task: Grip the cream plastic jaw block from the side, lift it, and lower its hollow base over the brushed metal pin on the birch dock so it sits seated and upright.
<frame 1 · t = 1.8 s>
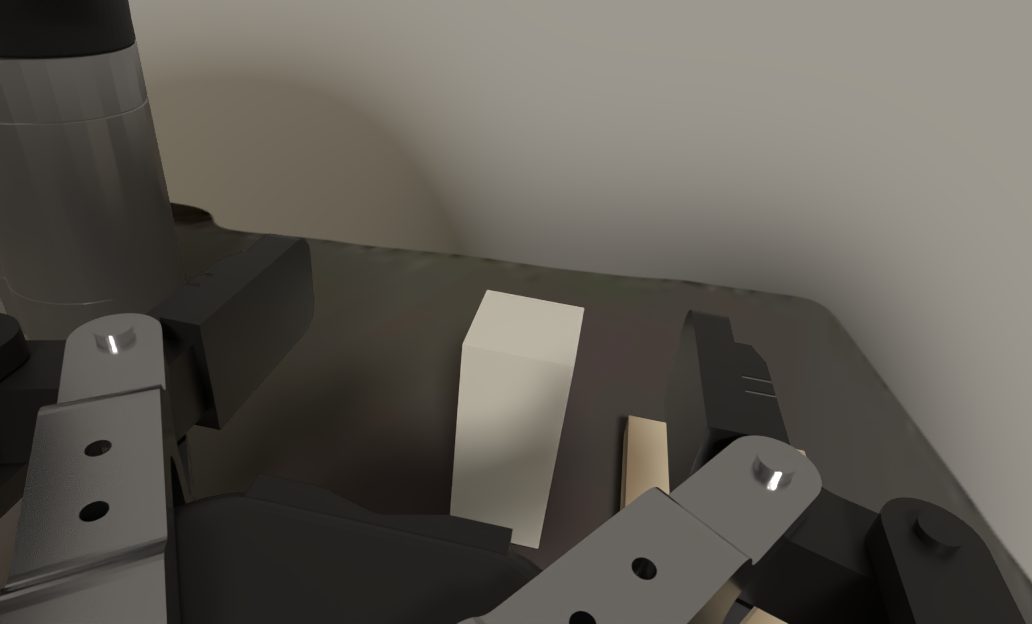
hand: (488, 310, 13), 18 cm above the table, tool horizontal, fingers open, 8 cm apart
pin dock: (719, 551, 30), on the table
jaw block: (502, 503, 32), on the table
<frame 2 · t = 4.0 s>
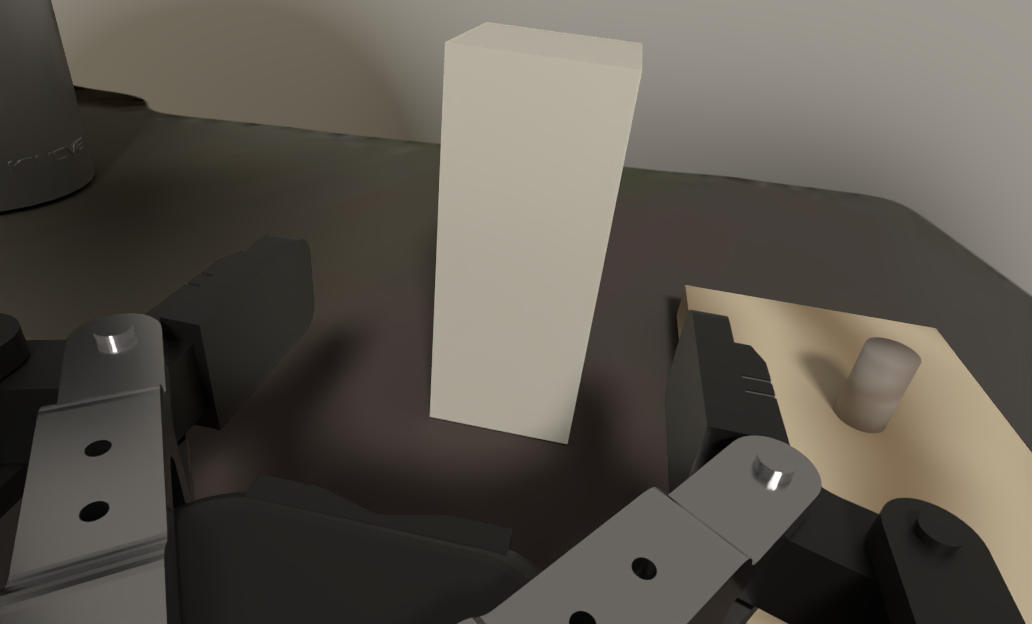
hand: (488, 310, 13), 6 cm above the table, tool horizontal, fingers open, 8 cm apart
pin dock: (841, 451, 20), on the table
jaw block: (510, 387, 21), on the table
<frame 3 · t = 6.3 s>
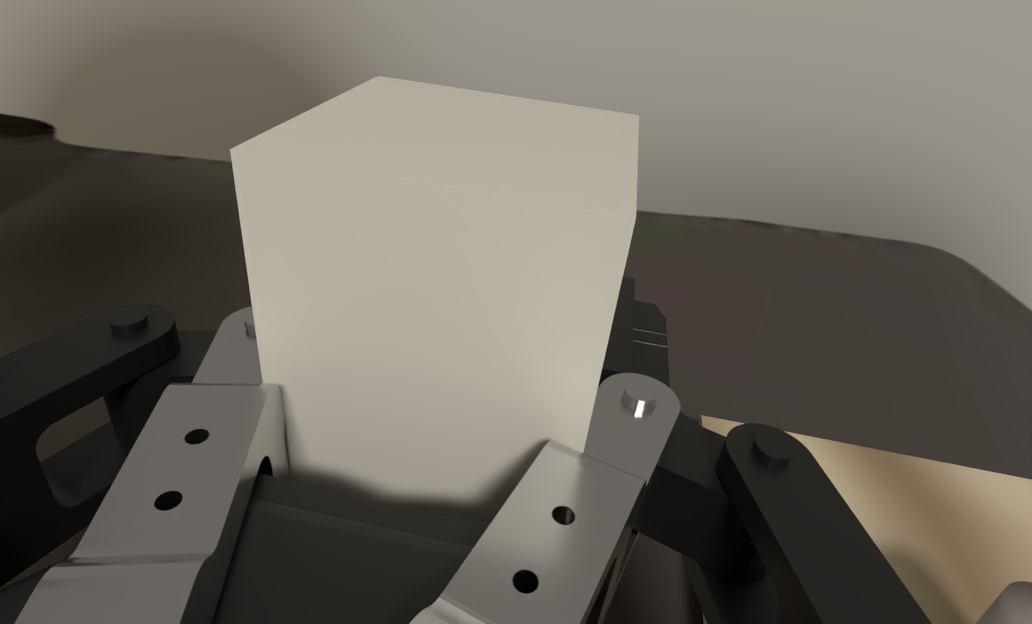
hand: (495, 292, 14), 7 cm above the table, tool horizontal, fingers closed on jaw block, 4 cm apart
jaw block: (441, 610, 14), on the table, touching gripper
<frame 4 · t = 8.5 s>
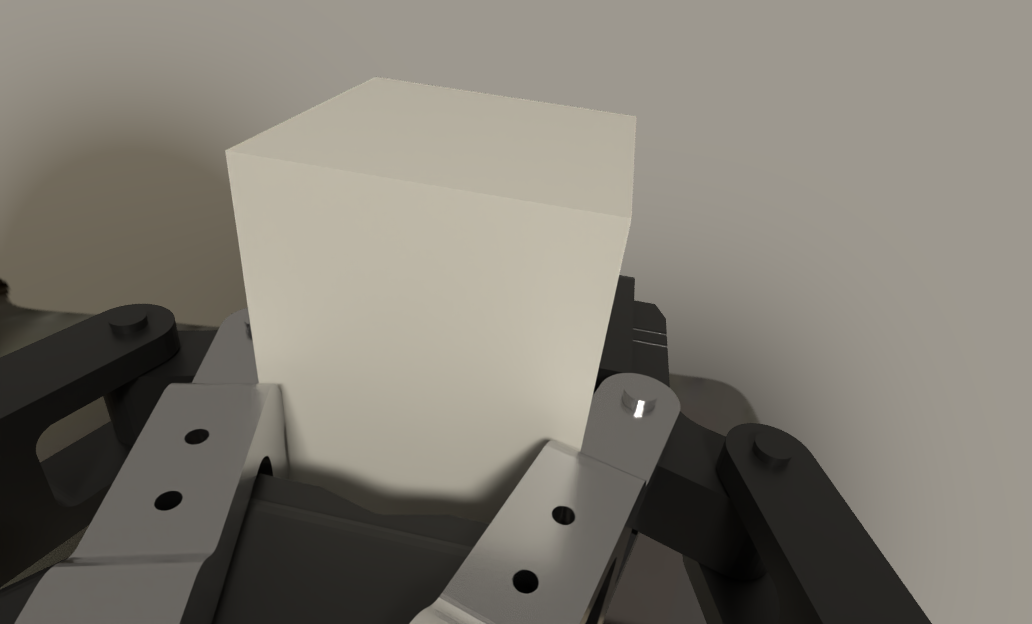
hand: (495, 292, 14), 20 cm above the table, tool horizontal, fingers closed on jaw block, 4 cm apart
jaw block: (439, 612, 14), point 14 cm above the table, touching gripper
when the fingers open (9 cm above the table, at t = 11.1 s): jaw block stays where it is, resting on pin dock.
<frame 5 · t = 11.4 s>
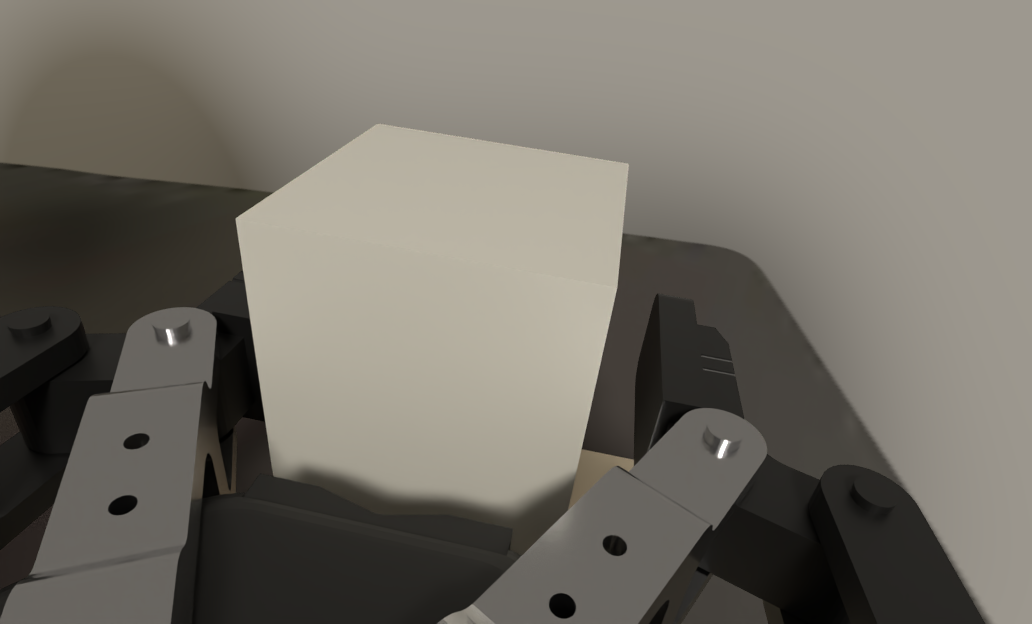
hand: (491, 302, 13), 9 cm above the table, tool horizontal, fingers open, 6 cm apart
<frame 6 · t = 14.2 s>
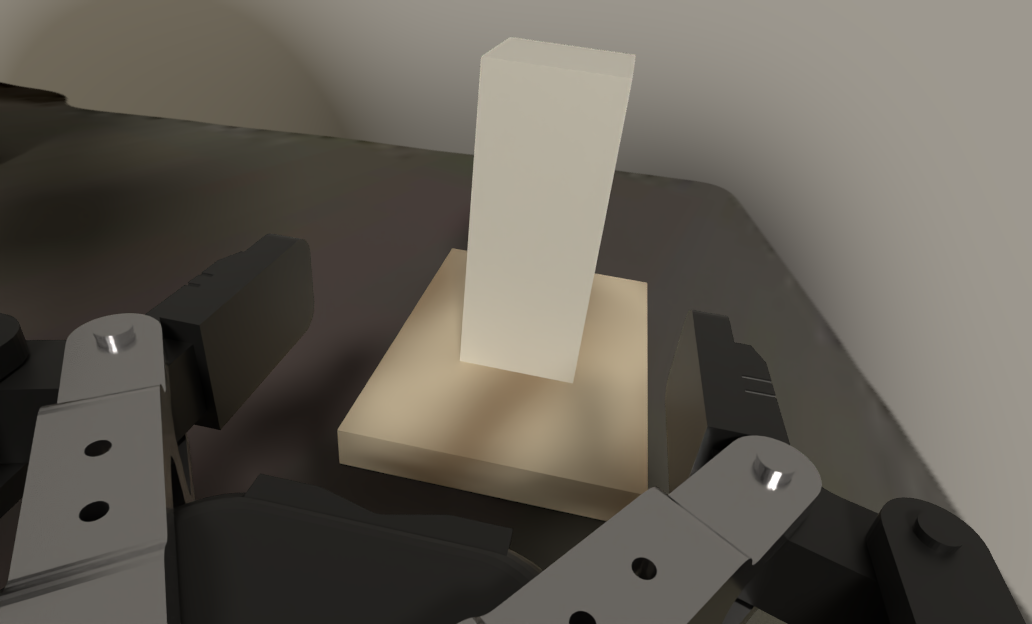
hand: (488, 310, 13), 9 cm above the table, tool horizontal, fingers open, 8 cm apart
pin dock: (521, 369, 26), on the table
jaw block: (525, 340, 25), point 1 cm above the table, touching pin dock
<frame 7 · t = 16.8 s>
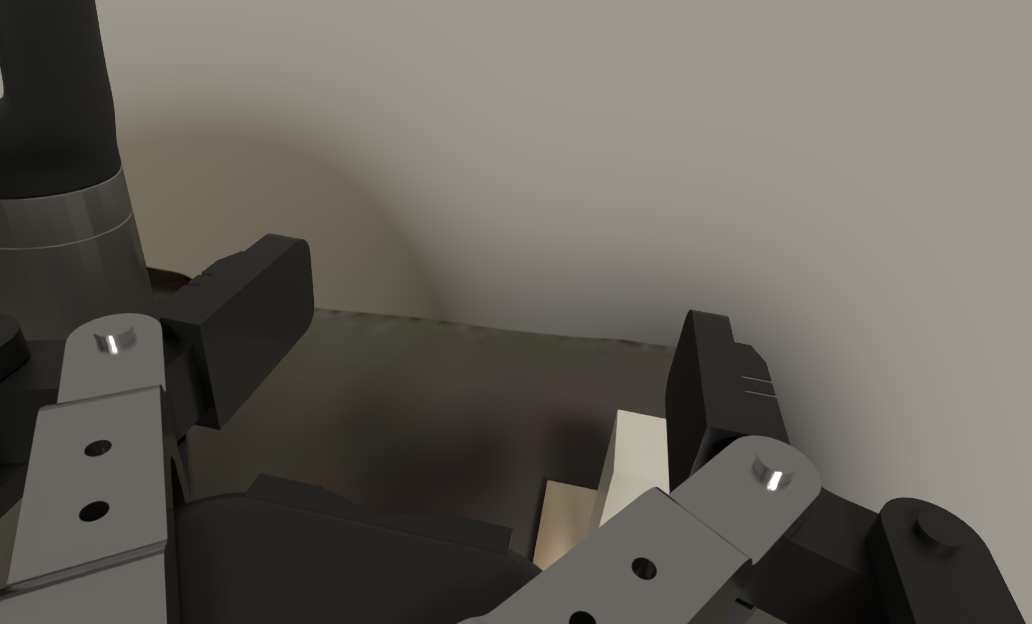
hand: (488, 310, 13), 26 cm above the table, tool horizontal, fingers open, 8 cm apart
pin dock: (612, 603, 36), on the table
jaw block: (617, 587, 35), point 1 cm above the table, touching pin dock
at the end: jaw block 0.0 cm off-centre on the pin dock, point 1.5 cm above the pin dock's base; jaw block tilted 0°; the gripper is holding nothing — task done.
